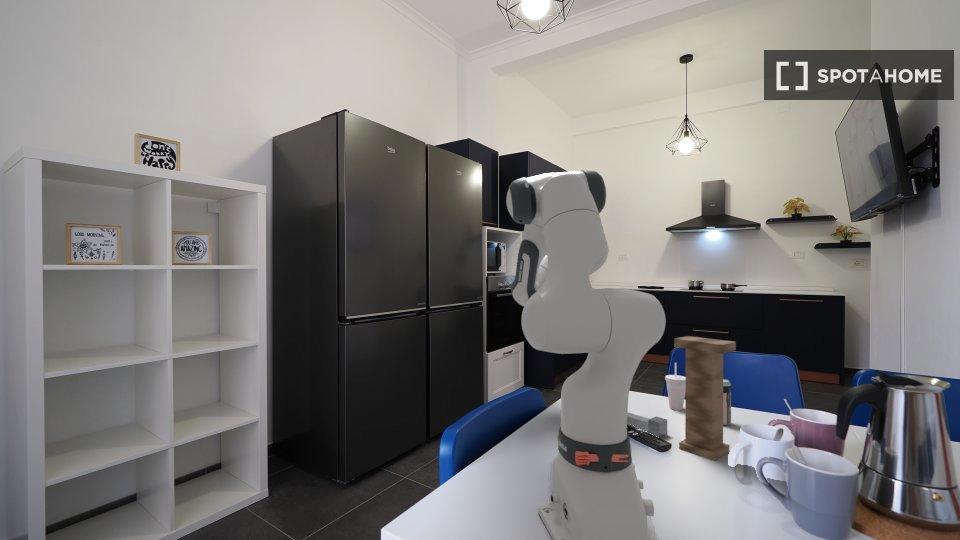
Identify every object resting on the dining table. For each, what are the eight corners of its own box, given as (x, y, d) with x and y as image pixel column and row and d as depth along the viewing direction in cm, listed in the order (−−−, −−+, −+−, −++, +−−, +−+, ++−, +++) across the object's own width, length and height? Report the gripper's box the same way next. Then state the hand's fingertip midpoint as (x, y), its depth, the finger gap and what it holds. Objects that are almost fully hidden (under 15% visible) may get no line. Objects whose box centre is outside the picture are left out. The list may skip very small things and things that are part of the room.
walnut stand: (672, 446, 99) (673, 338, 99) (688, 438, 104) (688, 335, 104) (722, 463, 90) (722, 345, 90) (736, 453, 95) (736, 341, 95)
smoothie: (682, 405, 130) (683, 361, 130) (691, 412, 123) (691, 365, 123) (661, 404, 130) (662, 360, 130) (669, 411, 124) (669, 365, 124)
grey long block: (599, 418, 118) (599, 404, 118) (607, 415, 120) (607, 402, 120) (659, 438, 104) (659, 422, 104) (667, 435, 106) (667, 419, 106)
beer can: (733, 426, 112) (733, 382, 112) (714, 425, 113) (714, 381, 113) (727, 420, 117) (727, 378, 117) (708, 419, 118) (708, 377, 118)
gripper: (560, 275, 120) (601, 284, 109) (593, 300, 133) (632, 310, 122) (551, 294, 118) (592, 305, 108) (585, 318, 132) (624, 330, 121)
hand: (613, 308), depth 115 cm, fingers open, 8 cm apart
